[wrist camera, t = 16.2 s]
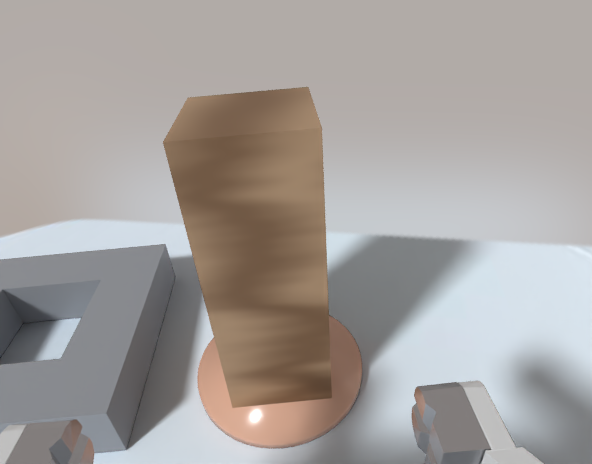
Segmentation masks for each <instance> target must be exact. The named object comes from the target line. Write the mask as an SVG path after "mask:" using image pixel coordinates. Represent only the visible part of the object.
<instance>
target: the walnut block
mask: <svg viewBox="0 0 592 464" xmlns="http://www.w3.org/2000/svg"><path fill="white" fill-rule="evenodd" d="M163 144H164V148H165V151H166V155H167V159H168V163H169V167H170V171H171V175H172V178H173V182H174V186H175V190H176V193H177V198H178V201H179V205H180V209H181V213H182V216H183V220H184V224H185V228H186V232H187V236H188V240H189V243H190V247H191V251H192V255H193V259H194V263H195V266H196V270H197V274H198V278H199V282H200V285H201V289H202V293H203V297H204V301H205V305H206V308H207V312H208V316H209V320H210V324H211V327H212V331H213V335H214V339H215V343H216V347H217V350H218V354H219V358H220V362H221V366H222V369H223V373H224V377H225V381H226V385H227V389H228V392H229V396H230V400H231V404H232V408H237V407H247V406H258V405H268V404H278V403H288V402H298V401H308V400H318V399H329V398H332V387H331V360H330V333H329V306H328V280H327V253H326V226H325V199H324V172H323V148H322V147H323V146H322V127H321V124H320V121H319V118H318V115H317V112H316V109H315V106H314V103H313V100H312V97H311V94H310V91H309V88H308V87H302V88H292V89H280V90H268V91H257V92H246V93H235V94H224V95H212V96H201V97H190V98H187V100H186V102H185V104H184V106H183V108H182V109H181V111H180V113H179V115H178V116H177V118H176V120H175V122H174V124H173V125H172V127H171V129H170V131H169V132H168V134H167V136H166V138H165V140H164V141H163Z"/></svg>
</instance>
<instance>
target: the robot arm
mask: <svg viewBox="0 0 592 464" xmlns="http://www.w3.org/2000/svg"><path fill="white" fill-rule="evenodd" d="M414 397H415V400H416V404H415V405H414V406H413V407H412V425H413V430H414V435H415V438H416V442H417V445H418V447H419V448H420V449H421V450H422V451H423V452H424V453H425V454H426V457H425V463H424V464H544V463H542V462H541V461H540V460H539V459H537V458H536V457H535V456H534V455H532V454H531V453H530V452H529V451H527V450H526V449H525V448H524V447H516V446H515V444H514V442H513V440H512V438H511V436H510V434H509V432H508V430H507V428H506V426H505V425H504V423H503V421H502V419H501V417H500V415H499V413H498V411H497V409H496V407H495V405H494V403H493V401H492V400H491V398H490V396H489V394H488V392H487V390H486V388H485V386H484V385H483V384H482V383H481V382H480V381H468V382H459V383H457V382H453V383H444V384H436V385H427V386H418V387H417V388H416V389H415V394H414ZM81 430H82V425H81V424H80V422H79V421H78V420H77V419H73V420H61V421H50V422H38V423H24V424H14V425H9V426H8V427H6V428H5V429H4V430H3V431H2V432H1V434H0V464H93V460H94V448H93V443H92V441H91V440H90V438H89V437H87V436H85V435H83V434H81Z"/></svg>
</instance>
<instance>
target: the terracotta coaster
mask: <svg viewBox="0 0 592 464" xmlns="http://www.w3.org/2000/svg"><path fill="white" fill-rule="evenodd" d="M329 333H330V360H331V387H332V398H329V399H318V400H308V401H298V402H288V403H278V404H268V405H258V406H247V407H237V408H232V404H231V400H230V396H229V392H228V389H227V385H226V381H225V377H224V373H223V369H222V366H221V362H220V358H219V354H218V350H217V347H216V343H215V339H214V338H213V339H212V340H211V342H210V343H209V344H208V346H207V348H206V349H205V351H204V353H203V356H202V358H201V361H200V365H199V368H198V389H199V394H200V397H201V400H202V403H203V406H204V408H205V411H206V413H207V414H208V416H209V417H210V419H211V420H212V422H213V423H214V424H215V425H216V426H217V427H218V428H219V429H220V430H221V431H223V432H224V433H225V434H226V435H228V436H230V437H231V438H233V439H235V440H237V441H239V442H242V443H244V444H247V445H251V446H255V447H261V448H287V447H294V446H298V445H301V444H305V443H308V442H310V441H312V440H315V439H317V438H319V437H321V436H322V435H324V434H326V433H327V432H329V431H330V430H331V429H333V428H334V427H335V426H337V425H338V424H339V423H340V422H341V421H342V420H343V419H344V418H345V416H346V415H347V414H348V412H349V411H350V410H351V408H352V406H353V405H354V403H355V401H356V399H357V396H358V393H359V390H360V386H361V380H362V361H361V354H360V351H359V348H358V345H357V343H356V341H355V339H354V338H353V336H352V335H351V333H350V332H349V331H348V330H347V329H346V328H345V326H344V325H342V324H341V323H340V322H339V321H338V320H336V319H335V318H333V317H332V316H330V315H329Z"/></svg>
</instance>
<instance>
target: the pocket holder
mask: <svg viewBox="0 0 592 464" xmlns="http://www.w3.org/2000/svg"><path fill="white" fill-rule="evenodd" d="M174 280H175V274H174V271H173V268H172V264H171V261H170V258H169V254H168V251H167V248H166V244H161V245H150V246H140V247H129V248H118V249H108V250H97V251H86V252H76V253H65V254H54V255H44V256H33V257H22V258H12V259H1V260H0V357H1V356H2V354H3V353H4V351H5V350H6V348H7V347H8V345H9V344H10V342H11V341H12V339H13V338H14V336H15V335H16V333H17V332H18V330H19V329H20V327H21V326H22V324H23V323H28V322H38V321H49V320H59V319H69V318H80V317H82V318H81V320H80V322H79V324H78V326H77V328H76V330H75V332H74V334H73V336H72V337H71V339H70V341H69V343H68V345H67V347H66V349H65V351H64V353H63V355H62V357H61V359H53V360H43V361H33V362H22V363H12V364H2V365H0V434H1V432H2V431H3V430H4V429H5V428H6V427H8V426H9V425H14V424H24V423H38V422H50V421H61V420H73V419H77V420H78V421H79V422H80V424H81V425H82V430H81V434H83V435H85V436H87V437H89V438H90V440H91V441H92V443H93V448H94V453H101V452H111V451H121V450H127V446H128V443H129V439H130V435H131V432H132V428H133V425H134V421H135V418H136V414H137V411H138V407H139V404H140V400H141V397H142V393H143V389H144V386H145V382H146V379H147V375H148V372H149V368H150V365H151V361H152V358H153V354H154V351H155V347H156V343H157V340H158V336H159V333H160V329H161V326H162V322H163V319H164V315H165V312H166V308H167V305H168V301H169V297H170V294H171V290H172V287H173V283H174Z"/></svg>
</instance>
